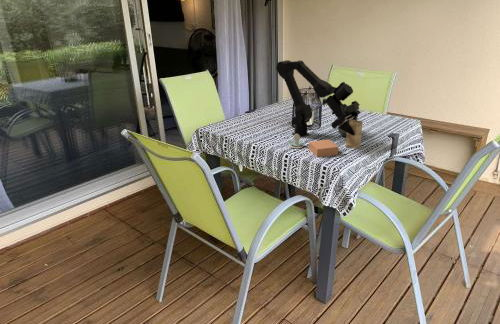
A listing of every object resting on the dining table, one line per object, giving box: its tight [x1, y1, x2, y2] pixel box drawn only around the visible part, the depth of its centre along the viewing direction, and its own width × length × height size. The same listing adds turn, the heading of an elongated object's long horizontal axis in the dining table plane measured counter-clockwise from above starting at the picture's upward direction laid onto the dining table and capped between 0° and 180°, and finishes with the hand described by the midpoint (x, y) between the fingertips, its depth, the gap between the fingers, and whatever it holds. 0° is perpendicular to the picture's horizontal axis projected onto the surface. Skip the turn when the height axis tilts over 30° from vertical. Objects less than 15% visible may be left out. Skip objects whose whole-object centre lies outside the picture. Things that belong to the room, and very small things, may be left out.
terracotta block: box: [308, 139, 339, 158], centre depth 167 cm, size 10×10×4 cm
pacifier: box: [288, 134, 305, 149], centre depth 174 cm, size 7×6×6 cm
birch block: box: [345, 119, 363, 150], centre depth 171 cm, size 5×5×12 cm
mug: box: [337, 125, 347, 137], centre depth 187 cm, size 10×12×10 cm
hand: (356, 133), depth 170 cm, fingers closed on birch block, 5 cm apart
